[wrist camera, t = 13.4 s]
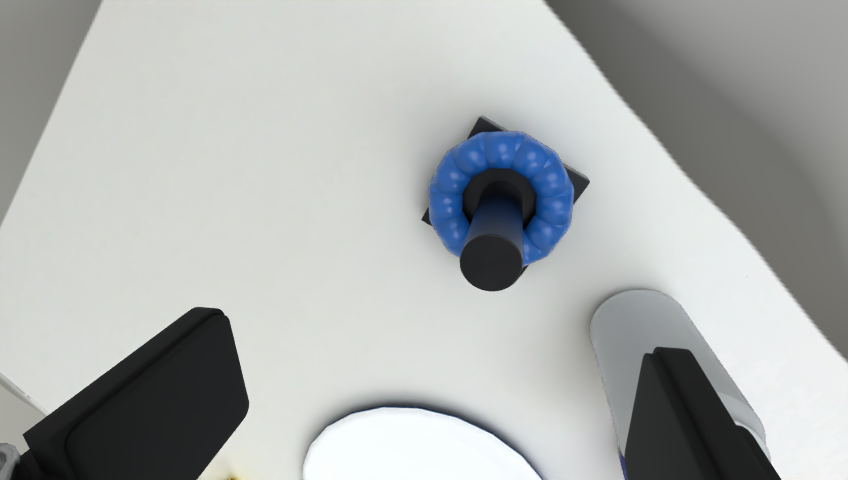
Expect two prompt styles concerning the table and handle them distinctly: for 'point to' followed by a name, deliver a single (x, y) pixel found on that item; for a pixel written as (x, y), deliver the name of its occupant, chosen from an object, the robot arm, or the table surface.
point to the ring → (504, 154)
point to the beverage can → (640, 333)
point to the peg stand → (499, 221)
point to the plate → (411, 449)
